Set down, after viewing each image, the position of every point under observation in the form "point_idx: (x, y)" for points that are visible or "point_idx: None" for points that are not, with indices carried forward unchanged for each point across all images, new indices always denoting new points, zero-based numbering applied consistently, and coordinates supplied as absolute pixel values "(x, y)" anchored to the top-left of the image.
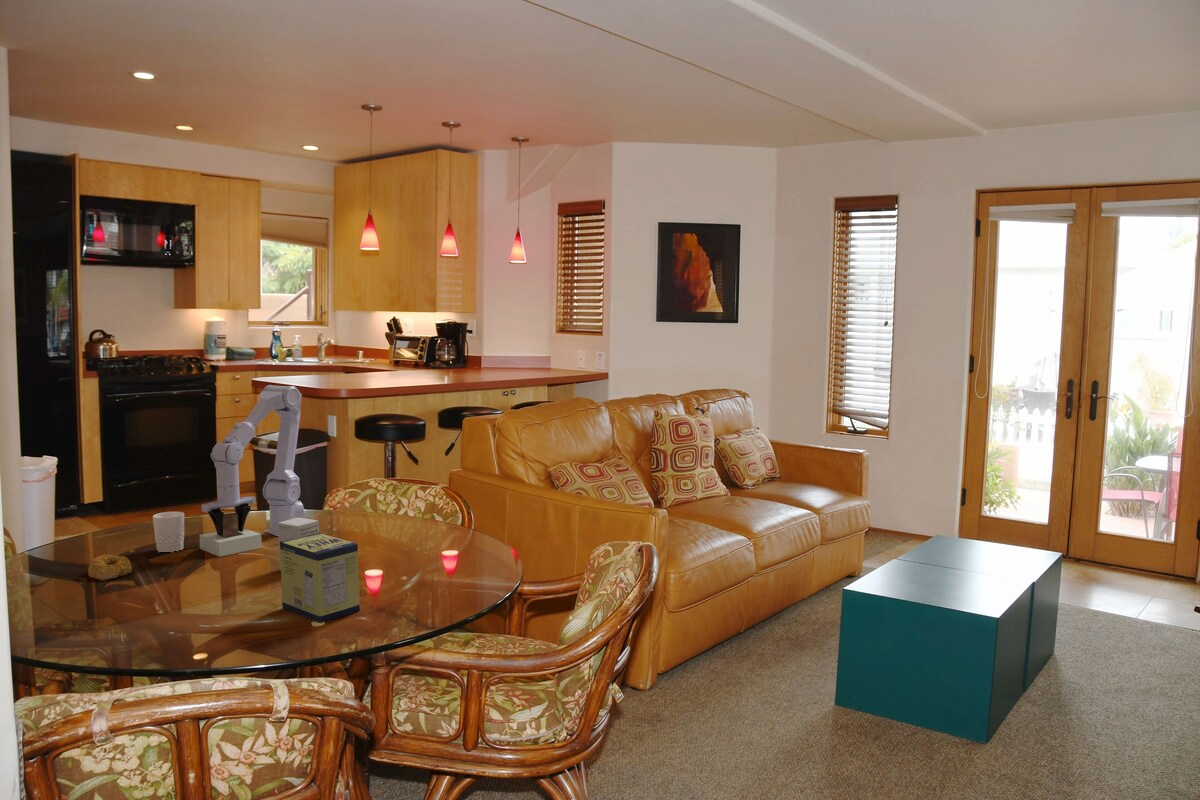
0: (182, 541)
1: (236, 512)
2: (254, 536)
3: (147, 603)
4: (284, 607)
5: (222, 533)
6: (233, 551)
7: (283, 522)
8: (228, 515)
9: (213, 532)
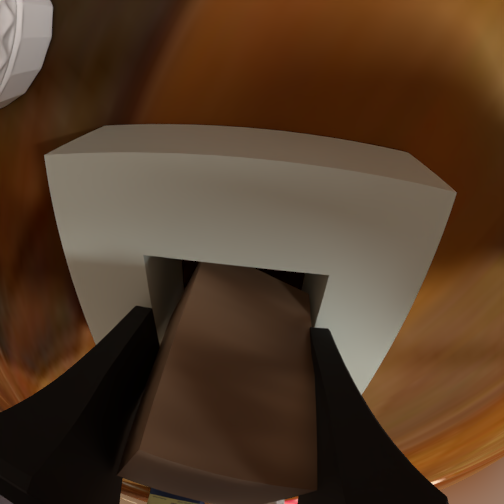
0: (3, 85)
1: (330, 479)
2: None
3: (8, 401)
4: (151, 489)
5: (152, 359)
6: None
7: None
8: (181, 489)
9: (154, 167)
